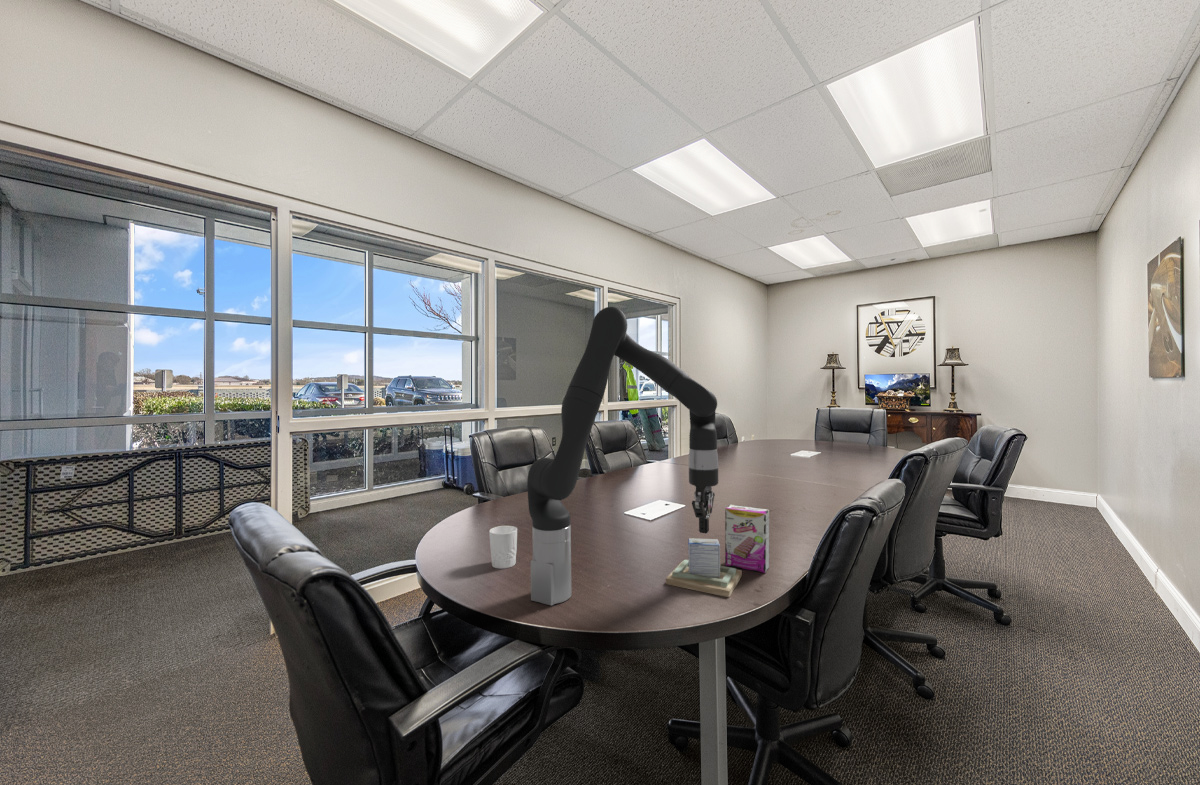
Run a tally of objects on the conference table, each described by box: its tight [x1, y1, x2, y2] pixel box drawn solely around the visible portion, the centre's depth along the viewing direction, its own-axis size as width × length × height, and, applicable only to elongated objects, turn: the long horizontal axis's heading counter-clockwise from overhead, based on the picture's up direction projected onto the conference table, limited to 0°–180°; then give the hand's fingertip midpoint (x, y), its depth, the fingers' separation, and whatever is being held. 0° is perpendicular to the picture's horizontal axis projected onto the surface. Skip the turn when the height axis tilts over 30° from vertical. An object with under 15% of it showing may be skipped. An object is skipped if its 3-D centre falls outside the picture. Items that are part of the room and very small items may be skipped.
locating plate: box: [665, 559, 743, 598], centre depth 119 cm, size 14×16×2 cm
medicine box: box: [687, 537, 721, 578], centre depth 119 cm, size 8×4×9 cm, turn 81°
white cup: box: [488, 525, 518, 570], centre depth 132 cm, size 8×8×10 cm
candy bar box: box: [724, 504, 770, 574], centre depth 128 cm, size 11×5×16 cm, turn 59°
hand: (704, 532), depth 119 cm, fingers closed
